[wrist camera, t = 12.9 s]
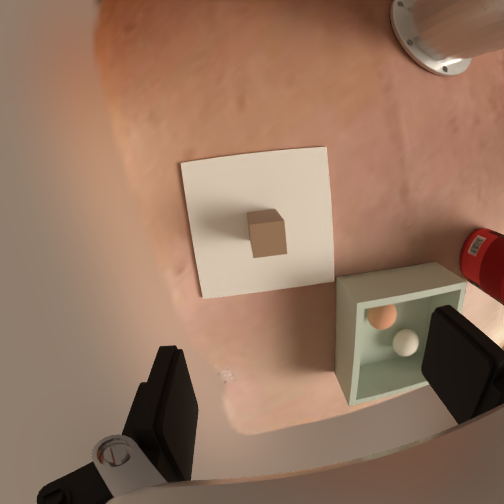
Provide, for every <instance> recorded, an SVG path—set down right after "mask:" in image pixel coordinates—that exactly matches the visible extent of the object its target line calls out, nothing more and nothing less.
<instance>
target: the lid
mask: <svg viewBox="0 0 504 504" xmlns="http://www.w3.org/2000/svg"><path fill="white" fill-rule="evenodd" d="M181 169H182V176H183V183H184V190H185V197H186V204H187V210H188V216H189V223H190V229H191V235H192V241H193V247H194V252H195V258H196V264H197V269H198V275H199V280H200V286H201V291H202V296H203V299H207V298H216V297H225V296H233V295H241V294H249V293H257V292H264V291H272V290H279V289H286V288H294V287H301V286H308V285H314V284H321V283H328V282H334V281H335V277H334V247H333V226H332V209H331V194H330V181H329V169H328V158H327V148H326V147H315V148H301V149H289V150H278V151H267V152H258V153H249V154H241V155H233V156H225V157H217V158H210V159H203V160H197V161H190V162H184V163H181Z"/></svg>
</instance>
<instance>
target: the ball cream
mask: <svg viewBox="0 0 504 504" xmlns="http://www.w3.org/2000/svg"><path fill="white" fill-rule="evenodd" d="M392 344H393V349H394V351H395V352H396V353H397V354H398V355H400V356H410V355H412V354H413V353H414V352H415V351H416V350H417V348H418V345H419V338H418V336H417V334H416V333H415V332H414V331H413V330H411V329H403V330H400V331H399V332H397V333H396V335H395V336H394V338H393V343H392Z"/></svg>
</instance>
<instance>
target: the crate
mask: <svg viewBox="0 0 504 504" xmlns="http://www.w3.org/2000/svg"><path fill="white" fill-rule="evenodd" d="M466 284H467V281H465V280H464V279H462V278H461V277H459V276H457V275H456V274H454V273H453V272H451V271H449V270H448V269H446V268H445V267H443V266H441V265H440V264H438V263H436V262H432V263H425V264H419V265H413V266H407V267H400V268H394V269H387V270H381V271H374V272H367V273H360V274H353V275H346V276H339V277H336V343H335V368H334V372H335V375H336V377H337V379H338V382H339V384H340V386H341V389H342V391H343V393H344V396H345V398H346V400H347V403H348V405H349V406H352V405H356V404H360V403H365V402H369V401H373V400H377V399H381V398H385V397H388V396H392V395H395V394H399V393H403V392H406V391H409V390H413V389H416V388H419V387H422V386H425V385H428V384H429V383H428V382H427V380H426V379H425V378H424V376H423V375H422V372H421V365H422V361H423V356H424V352H425V347H426V342H427V337H428V331H429V326H430V320H431V315H432V313H433V312H434V310H435V309H436V308H437V307H440V306H444V305H451V306H452V307H453V308H454V309H456V310H457V311H458V312H459V313H462V308H463V302H464V297H465V290H466ZM389 304H393V305H394V306H395V308H396V311H397V316H396V320H395V322H394V323H393V325H392V326H390V327H389V328H387V329H383V330H379V329H376V328H374V327H372V326H371V325H370V323H369V321H368V318H367V312H368V309H369V308H373V307H379V306H384V305H389ZM403 329H411V330H413V331H414V332H415V333H416V334H417V336H418V338H419V345H418V348H417V350H416V351H415V352H414V353H413V354H412V355H410V356H400V355H398V354H397V353H396V352H395V351H394V349H393V344H392V343H393V338H394V336H395V335H396V333H397V332H399V331H400V330H403Z"/></svg>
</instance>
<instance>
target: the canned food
mask: <svg viewBox="0 0 504 504" xmlns="http://www.w3.org/2000/svg"><path fill="white" fill-rule="evenodd" d="M460 268H461V272H462V274H463V276H464V277H465V278H466V280H467V281H468V282H470V283H471V284H473V285H475V286H476V287H478V288H479V289H481V290H482V291H484V292H485V293H487V294H488V295H489V296H491V297H492V298H494V299H495V300H497V301H498V302H500V303H501V304H503V305H504V235H503V234H500V233H498V232H495V231H492V230H490V229H485V228H484V229H478V230H476V231H474V232H473V233H472V234H470V236H469V237H468V238H467V240H466V241H465V243H464V245H463V248H462V251H461V256H460Z"/></svg>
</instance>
